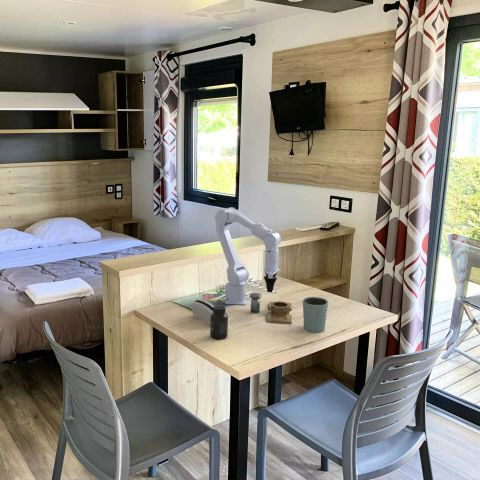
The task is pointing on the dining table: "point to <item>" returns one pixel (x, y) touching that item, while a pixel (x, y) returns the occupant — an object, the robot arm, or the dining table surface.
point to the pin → (255, 302)
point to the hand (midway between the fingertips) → (270, 289)
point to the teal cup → (314, 314)
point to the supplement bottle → (219, 323)
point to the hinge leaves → (280, 312)
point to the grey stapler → (202, 309)
